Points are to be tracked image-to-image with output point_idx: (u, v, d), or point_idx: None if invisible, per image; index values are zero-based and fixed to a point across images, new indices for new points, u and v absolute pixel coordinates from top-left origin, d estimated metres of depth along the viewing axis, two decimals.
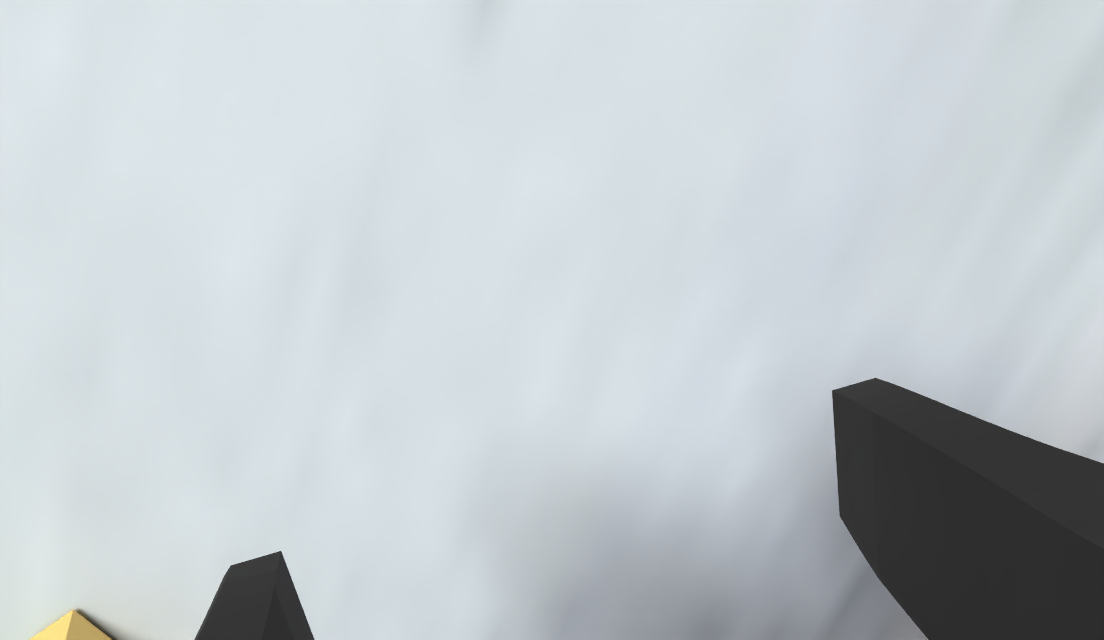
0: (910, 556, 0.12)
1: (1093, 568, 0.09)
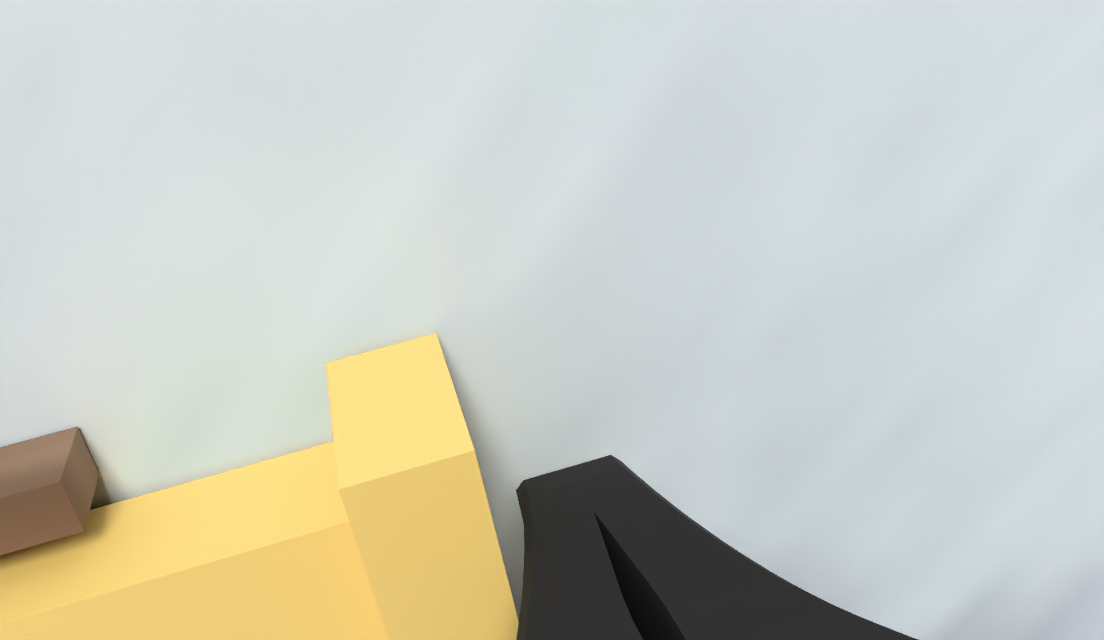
0: None
1: None
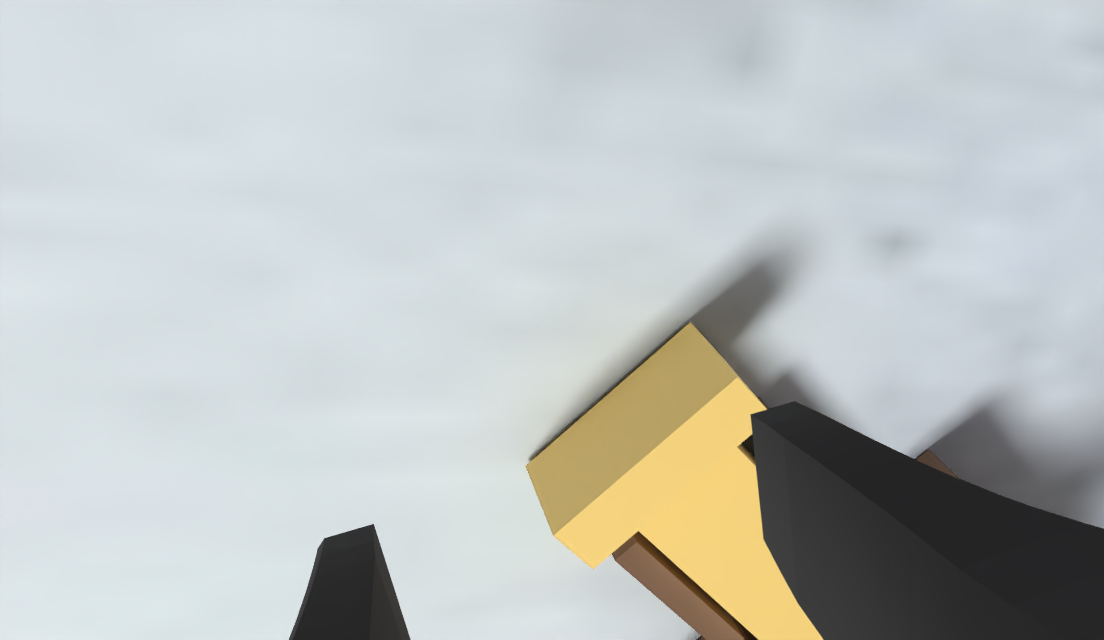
0: (824, 584, 0.12)
1: (977, 606, 0.09)
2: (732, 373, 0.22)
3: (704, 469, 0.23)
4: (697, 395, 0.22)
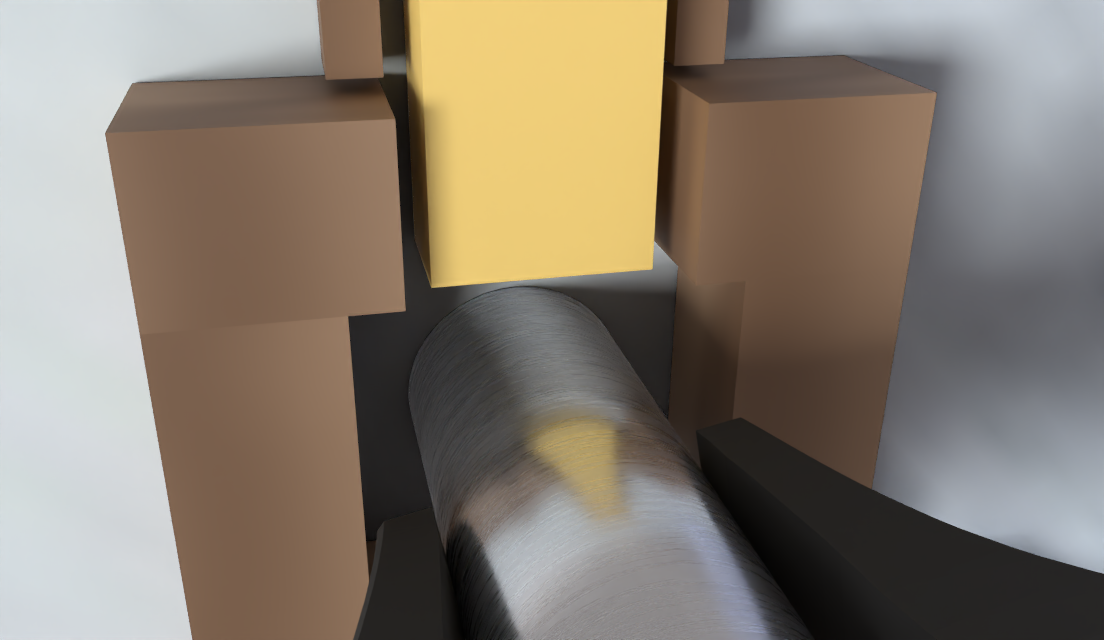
0: None
1: (899, 631, 0.09)
2: None
3: None
4: None
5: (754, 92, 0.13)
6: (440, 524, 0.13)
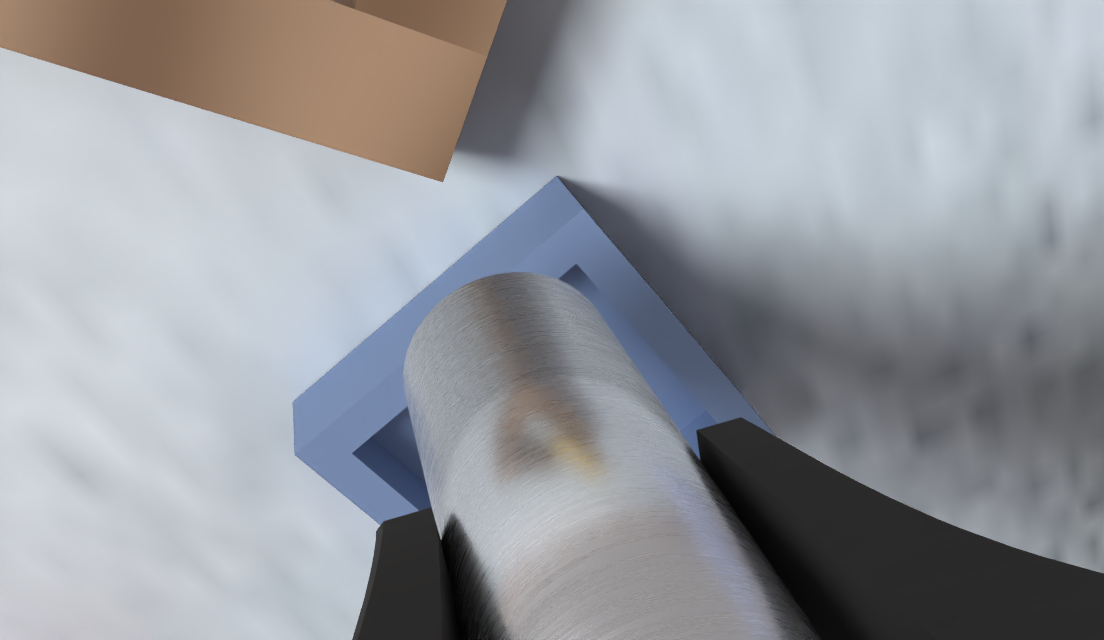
0: None
1: (900, 631, 0.09)
2: None
3: None
4: None
5: None
6: (434, 509, 0.13)
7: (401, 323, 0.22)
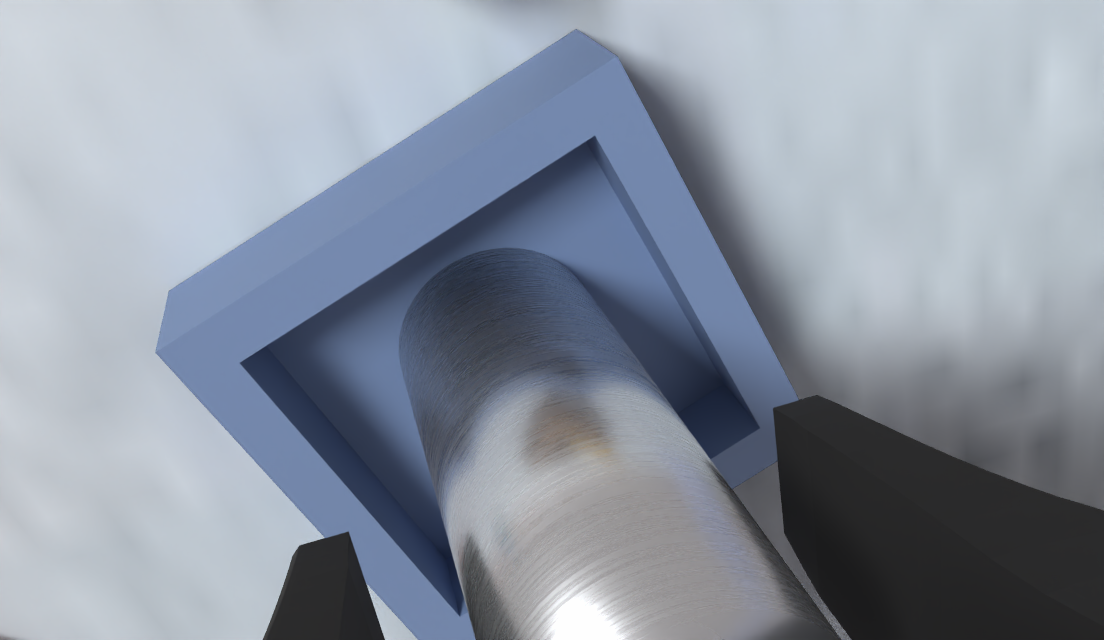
0: (847, 576, 0.12)
1: (1009, 596, 0.09)
2: None
3: None
4: None
5: None
6: (430, 467, 0.14)
7: (337, 197, 0.16)
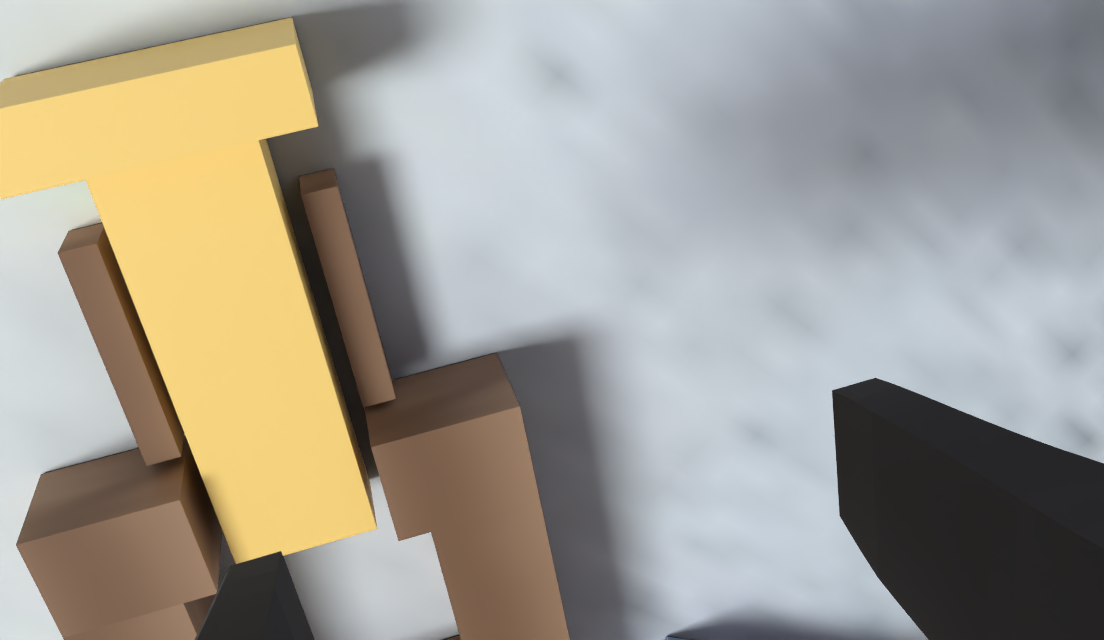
0: (910, 556, 0.12)
1: (1093, 568, 0.09)
2: (293, 42, 0.17)
3: (205, 145, 0.17)
4: (241, 51, 0.17)
5: (407, 424, 0.22)
6: None
7: None
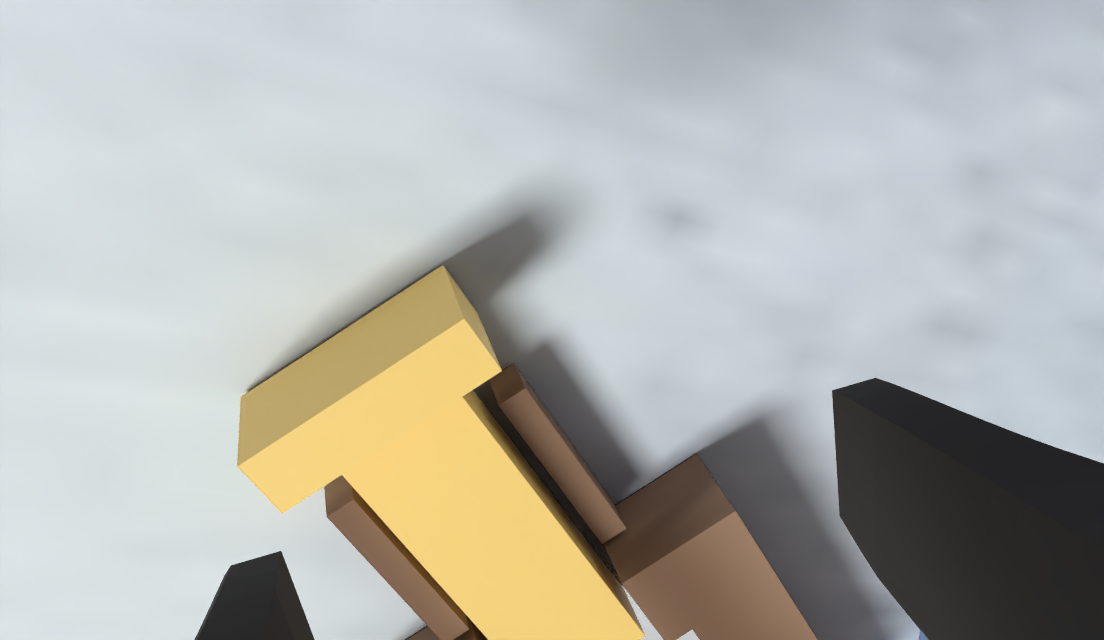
0: (910, 556, 0.12)
1: (1093, 568, 0.09)
2: (461, 315, 0.20)
3: (419, 418, 0.21)
4: (422, 334, 0.20)
5: (644, 551, 0.25)
6: None
7: None
